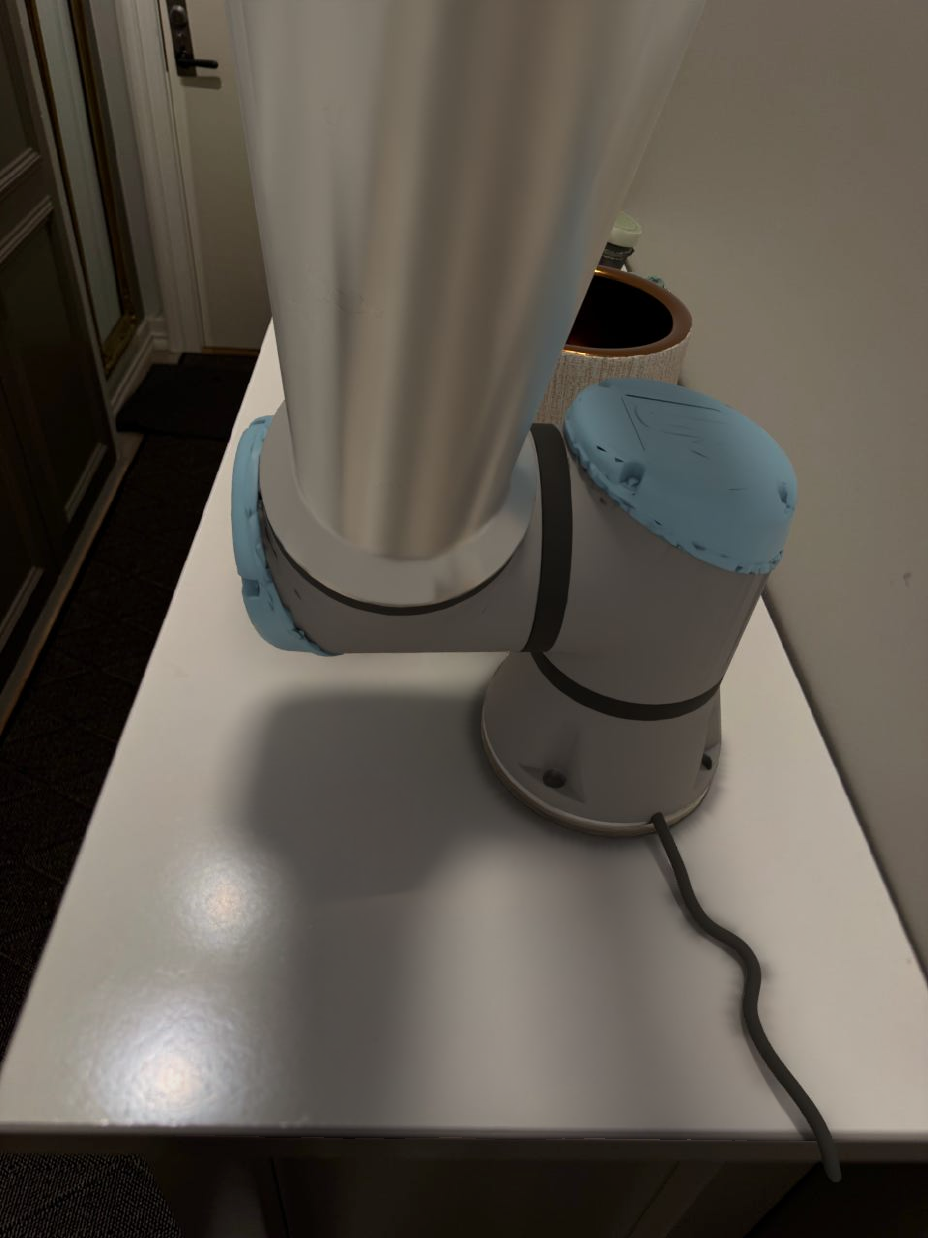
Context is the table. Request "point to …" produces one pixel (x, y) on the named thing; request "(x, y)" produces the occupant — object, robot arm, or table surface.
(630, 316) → the planter
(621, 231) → the boat shoe
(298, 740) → the table surface
